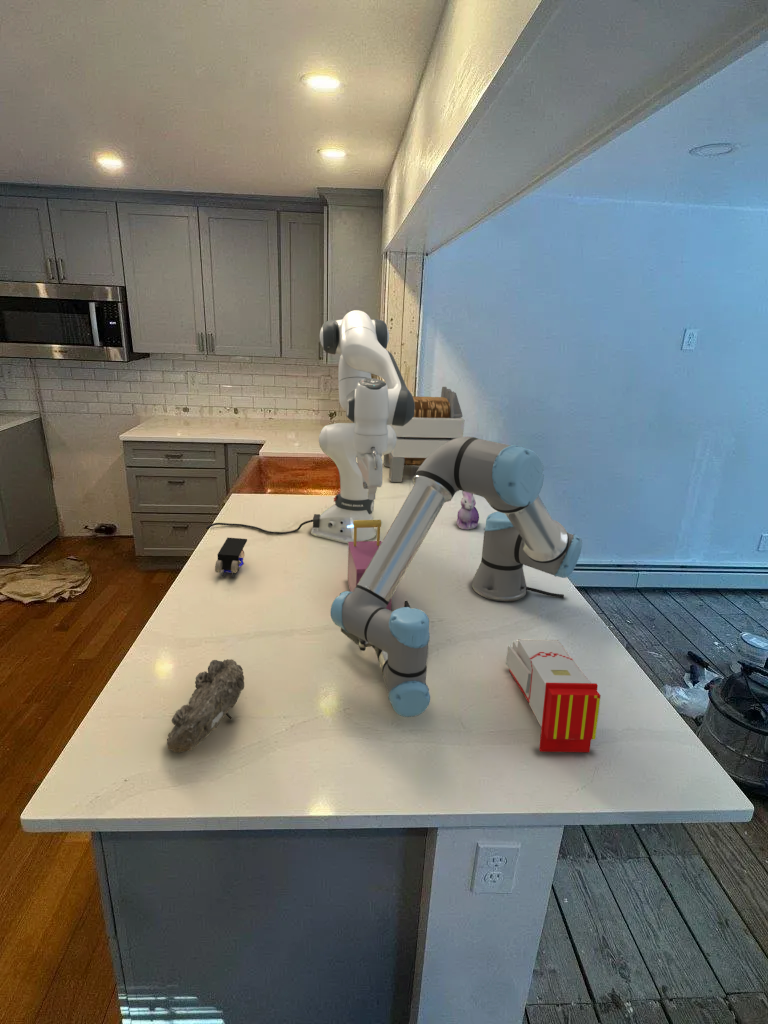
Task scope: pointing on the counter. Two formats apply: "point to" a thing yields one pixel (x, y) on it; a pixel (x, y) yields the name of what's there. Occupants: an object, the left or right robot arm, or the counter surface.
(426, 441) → the transformer
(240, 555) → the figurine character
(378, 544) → the lid
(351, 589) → the chest
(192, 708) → the fossil
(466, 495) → the figurine
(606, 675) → the counter surface
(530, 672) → the toy
